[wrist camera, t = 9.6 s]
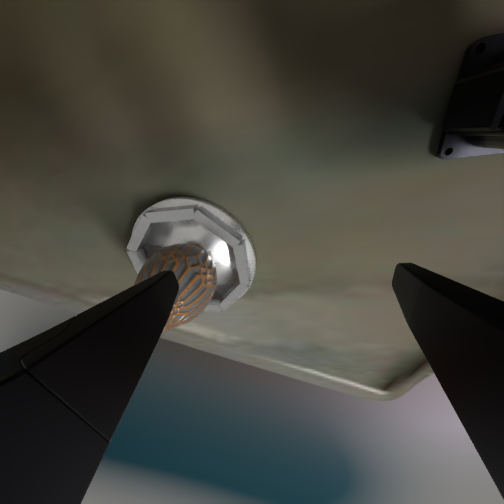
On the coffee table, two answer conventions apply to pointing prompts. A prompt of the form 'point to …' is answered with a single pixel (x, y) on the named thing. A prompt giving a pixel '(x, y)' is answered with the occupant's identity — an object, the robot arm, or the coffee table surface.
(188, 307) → the vase
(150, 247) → the rosette plate
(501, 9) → the coffee table surface
